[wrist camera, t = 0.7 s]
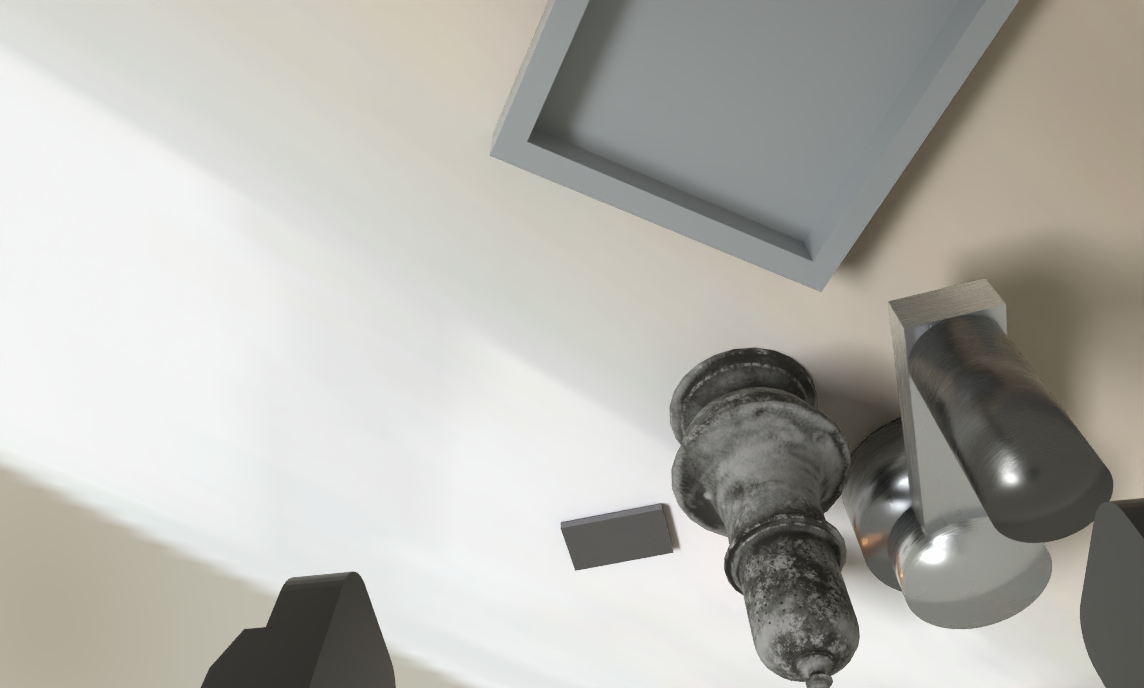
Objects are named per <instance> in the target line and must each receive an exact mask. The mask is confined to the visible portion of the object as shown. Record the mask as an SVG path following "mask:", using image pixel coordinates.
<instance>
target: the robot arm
mask: <svg viewBox="0 0 1144 688" xmlns="http://www.w3.org/2000/svg"><path fill="white" fill-rule="evenodd" d="M1080 622H1081V629H1082V634H1083V639H1084V643H1085V646H1086V649H1087V652H1088V655H1089V657H1090V660H1091V662H1092V664H1093V666H1094V668H1095V670H1096V672H1097V673H1098V675H1099V677H1100V678H1101V680H1102V682H1103V684H1104V685H1105V687H1106V688H1144V498H1140V499H1130V500H1119V501H1109V502H1104V503H1102V504H1101V505H1100V506H1099V507H1098V509H1097V511H1096V514H1095V518H1094V524H1093V530H1092V536H1091V542H1090V549H1089V555H1088V561H1087V567H1086V573H1085V579H1084V585H1083V592H1082V598H1081V604H1080ZM201 688H396V686H395V676H394V670H393V665H392V663H391V659H390V656H389V653H388V650H387V647H386V644H385V642H384V639H383V636H382V633H381V630H380V627H379V624H378V621H377V618H376V616H375V613H374V610H373V607H372V604H371V601H370V598H369V595H368V592H367V590H366V587H365V584H364V582H363V580H362V578H361V576H360V575H359V574H358V573H356V572H345V573H334V574H324V575H313V576H303V577H293V578H290V579H288V580H287V581H286V582H285V584H284V585H283V587H282V589H281V591H280V594H279V596H278V599H277V601H276V604H275V606H274V608H273V611H272V613H271V616H270V618H269V621H268V623H267V626H266V627H263V628H253V629H244V630H243V631H242V633H241V634H240V635H239V636H238V637H237V638H236V639H235V640H234V641H233V643H232V644H231V645H230V646H229V647H228V648H227V649H226V650H225V651H224V652H223V654H222V655H221V656H220V657H219V658H218V659H217V660H216V661H215V663H214V664H213V665H212V666H211V667H210V668H209V671H208V673H207V675H206V677H205V679H204V682H203V684H202V686H201Z"/></svg>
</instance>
